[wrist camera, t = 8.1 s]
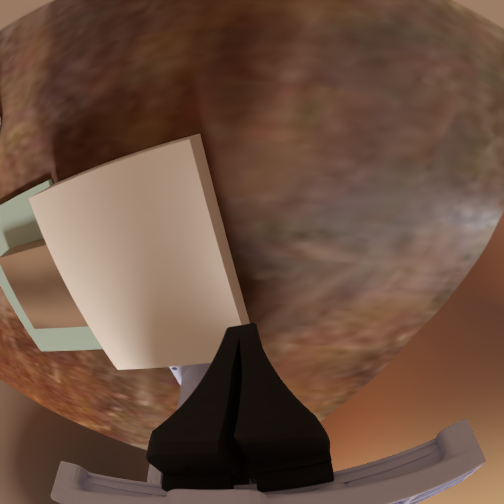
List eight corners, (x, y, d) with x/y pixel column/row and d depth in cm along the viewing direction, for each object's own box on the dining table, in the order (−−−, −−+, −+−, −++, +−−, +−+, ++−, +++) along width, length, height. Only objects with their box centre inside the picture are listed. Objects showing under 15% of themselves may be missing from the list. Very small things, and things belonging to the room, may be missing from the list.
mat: (127, 343, 26) (125, 347, 26) (42, 348, 27) (41, 351, 27) (51, 178, 19) (48, 180, 18) (-26, 220, 19) (-28, 222, 19)
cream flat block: (250, 323, 25) (251, 356, 22) (129, 339, 26) (117, 369, 22) (200, 133, 18) (189, 138, 14) (57, 182, 19) (28, 198, 15)
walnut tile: (100, 312, 24) (92, 326, 22) (43, 316, 24) (34, 328, 22) (64, 232, 20) (52, 243, 18) (9, 248, 21) (-3, 258, 19)
